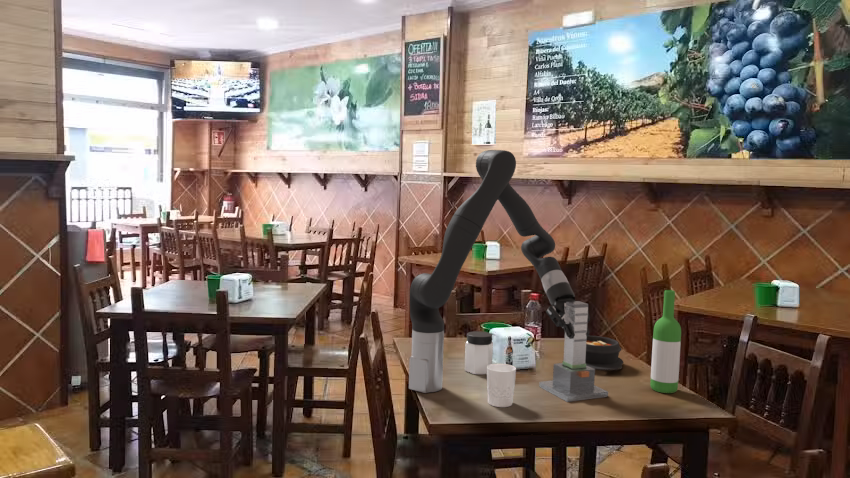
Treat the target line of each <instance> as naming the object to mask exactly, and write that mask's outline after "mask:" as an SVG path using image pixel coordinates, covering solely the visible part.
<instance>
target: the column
mask: <svg viewBox="0 0 850 478" xmlns="http://www.w3.org/2000/svg"><path fill="white" fill-rule="evenodd" d="M588 311H589V303H586V302H582V301H580V300H575V301H572V302H566V313H567V316H568V317H567V318H568V320H569V324H570V325H571V327H572V329H573V332H574V334H575V336H574V337H573V338H572V339H569V337H568V336H567V335H566V333H565V332H564V343H563V344H564V345H563V360H562V362H561V363H562V364H563V366H565V367H567V368H569V369H571V370H575V369H585V368H586V364H585V358H586V338H587V327H588V323H587V318H588Z"/></svg>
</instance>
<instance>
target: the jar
mask: <svg viewBox="0 0 850 478" xmlns="http://www.w3.org/2000/svg"><path fill="white" fill-rule="evenodd" d="M464 349H465V350H464V351H465V352H464V372H467V373H469V372H470V373H469V374H472V375H487V366H488V365H490V364H493V354H494V353H493V352H494V341H493V334H492V333H490V332H488V331H479V330H478V331H477V330H476V331H475V330H474V331H469V332H467V333H466V342H465V346H464Z"/></svg>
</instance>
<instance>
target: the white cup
mask: <svg viewBox="0 0 850 478" xmlns="http://www.w3.org/2000/svg"><path fill="white" fill-rule="evenodd" d="M516 374H517V368H516V366H514V365H511V364H507V363H492V364H490V365H488V366H487V374H486V387H487V388H486V389H487V390H486V391H487V404H489V405H490V406H492V407H498V408H507V407H511V406H512V405H513V401H514V393H515V385H516V376H517V375H516Z"/></svg>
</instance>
